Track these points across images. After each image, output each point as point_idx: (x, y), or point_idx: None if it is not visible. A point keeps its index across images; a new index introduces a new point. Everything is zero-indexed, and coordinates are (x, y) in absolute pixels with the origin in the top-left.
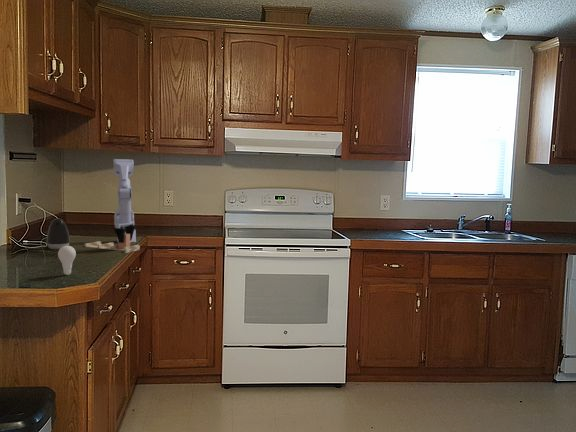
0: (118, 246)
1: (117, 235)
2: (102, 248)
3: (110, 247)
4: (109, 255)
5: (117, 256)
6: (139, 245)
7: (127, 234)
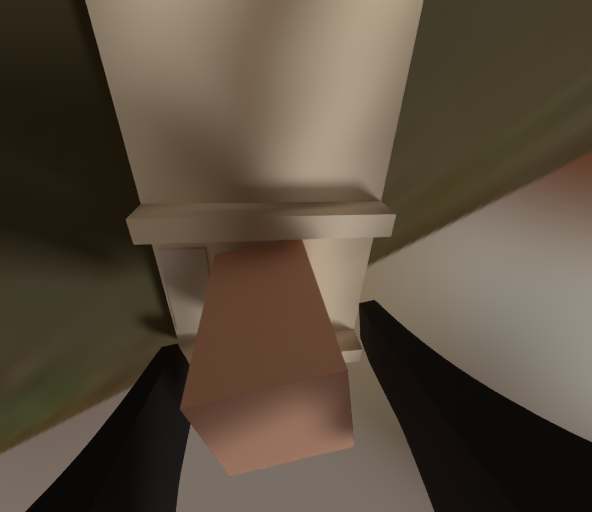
0: (212, 269)
1: (87, 457)
2: (98, 41)
3: (241, 95)
4: (3, 328)
5: (39, 386)
6: (355, 356)
7: (276, 464)
